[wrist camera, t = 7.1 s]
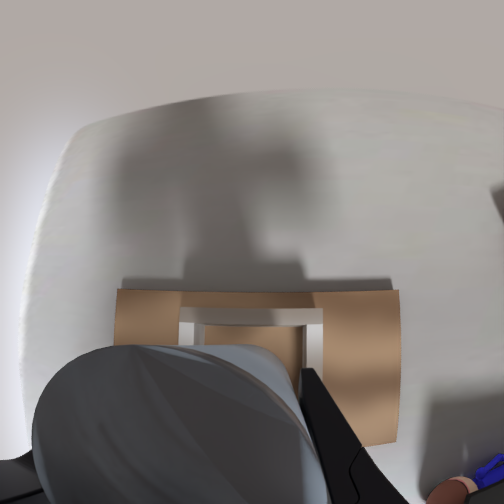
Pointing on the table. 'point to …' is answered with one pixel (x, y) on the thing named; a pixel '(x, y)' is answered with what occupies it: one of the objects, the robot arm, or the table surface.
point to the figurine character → (472, 487)
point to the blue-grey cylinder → (174, 429)
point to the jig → (289, 340)
